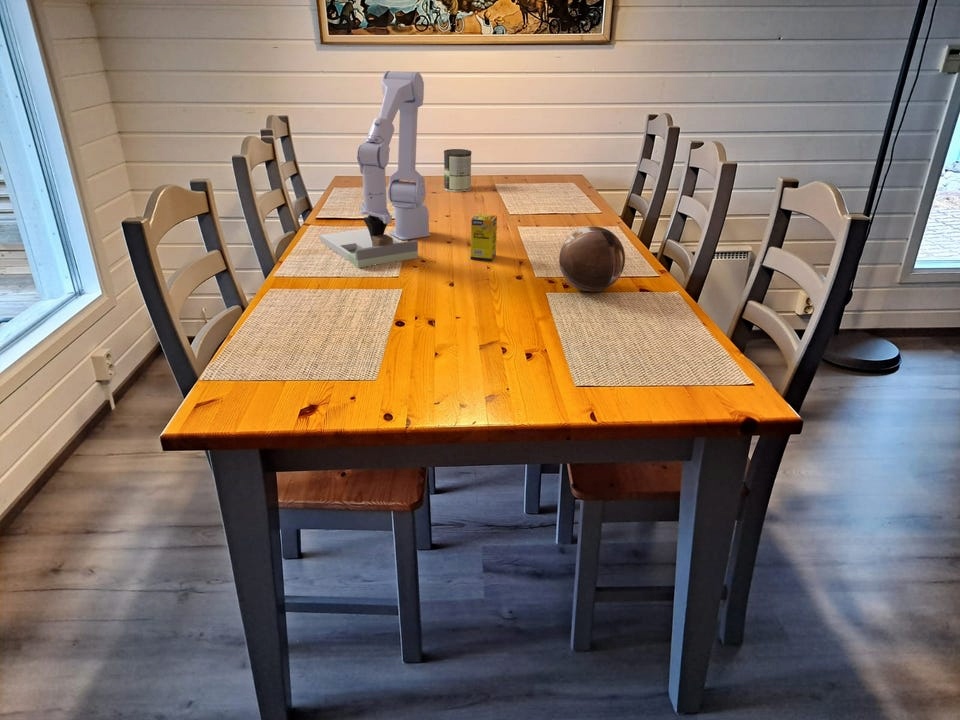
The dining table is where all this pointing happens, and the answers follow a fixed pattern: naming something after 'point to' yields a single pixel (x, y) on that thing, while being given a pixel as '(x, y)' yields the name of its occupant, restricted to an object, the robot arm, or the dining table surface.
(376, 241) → the walnut block
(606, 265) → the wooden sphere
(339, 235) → the board
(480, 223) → the supplement box
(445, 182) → the coffee can
